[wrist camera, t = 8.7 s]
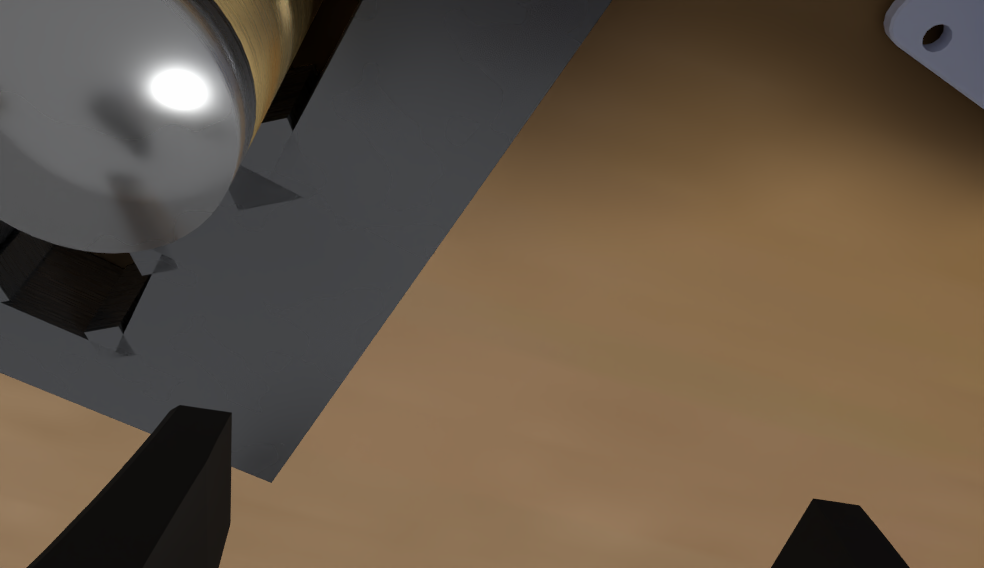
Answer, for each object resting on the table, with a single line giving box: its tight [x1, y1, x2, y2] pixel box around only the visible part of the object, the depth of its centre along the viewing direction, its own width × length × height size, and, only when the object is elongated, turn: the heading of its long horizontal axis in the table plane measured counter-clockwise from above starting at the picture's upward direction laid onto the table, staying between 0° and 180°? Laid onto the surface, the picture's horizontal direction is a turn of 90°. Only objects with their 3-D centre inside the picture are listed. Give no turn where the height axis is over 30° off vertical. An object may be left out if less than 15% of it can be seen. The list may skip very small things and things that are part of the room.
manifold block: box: [0, 0, 612, 483], centre depth 17 cm, size 12×14×2 cm
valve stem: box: [0, 0, 323, 253], centre depth 13 cm, size 4×4×7 cm
